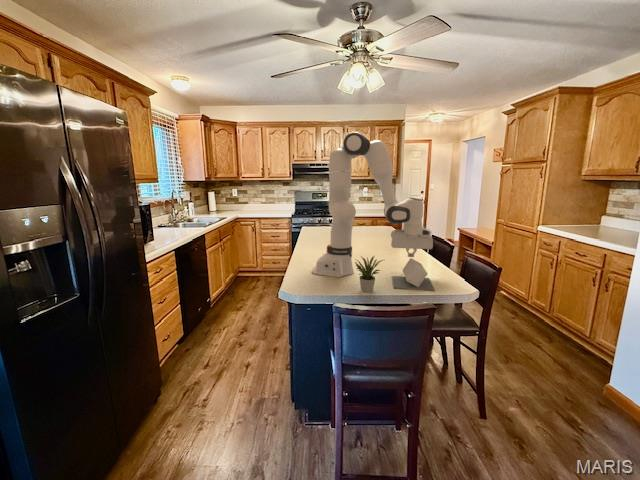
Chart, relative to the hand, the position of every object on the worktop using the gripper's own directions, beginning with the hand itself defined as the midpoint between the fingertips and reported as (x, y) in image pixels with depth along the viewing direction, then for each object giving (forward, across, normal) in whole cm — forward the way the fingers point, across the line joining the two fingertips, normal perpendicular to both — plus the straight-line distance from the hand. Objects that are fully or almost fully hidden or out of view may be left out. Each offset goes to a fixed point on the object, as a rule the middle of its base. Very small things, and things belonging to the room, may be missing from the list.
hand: (410, 256), depth 154 cm
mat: (+10, 0, -12) cm, 16 cm away
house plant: (+10, -20, -24) cm, 33 cm away
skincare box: (+4, 0, -3) cm, 5 cm away
